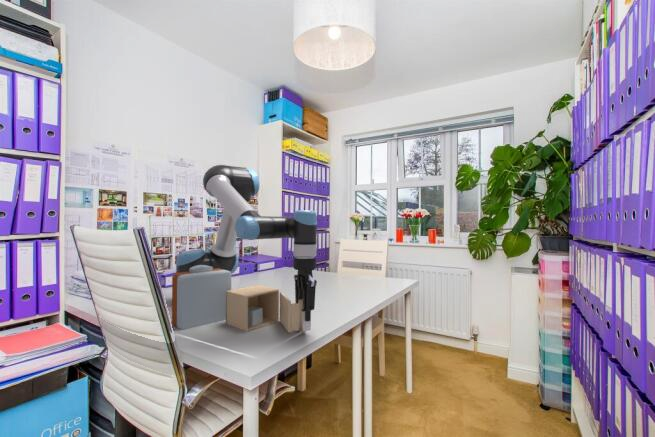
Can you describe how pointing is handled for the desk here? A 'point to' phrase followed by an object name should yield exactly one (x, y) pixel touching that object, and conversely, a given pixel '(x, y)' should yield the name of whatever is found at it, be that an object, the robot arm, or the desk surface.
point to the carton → (251, 297)
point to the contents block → (255, 315)
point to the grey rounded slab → (199, 296)
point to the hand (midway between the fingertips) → (304, 328)
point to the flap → (291, 313)
